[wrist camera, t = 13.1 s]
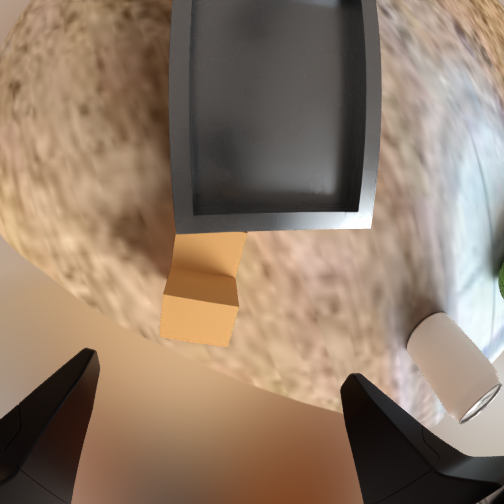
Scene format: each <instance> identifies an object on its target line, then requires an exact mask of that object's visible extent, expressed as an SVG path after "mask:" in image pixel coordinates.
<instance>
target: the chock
mask: <svg viewBox="0 0 504 504" xmlns="http://www.w3.org/2000/svg"><path fill="white" fill-rule="evenodd" d="M246 236H247V231H245V232H220V233H198V234H178V235H176V236H175V242H174V249H173V256H172V263H171V268H170V272H169V275H168V279H167V282H166V286H165V290H164V293H163V301H162V312H161V324H160V337H165V338H170V339H176V340H182V341H188V342H195V343H202V344H209V345H216V346H224V347H228V344H229V341H230V337H231V334H232V330H233V326H234V323H235V319H236V316H237V312H238V309H239V302H238V295H237V287H236V279H235V278H236V274H237V270H238V266H239V263H240V259H241V255H242V251H243V247H244V243H245V240H246Z"/></svg>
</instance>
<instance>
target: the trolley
mask: <svg viewBox="0 0 504 504" xmlns="http://www.w3.org/2000/svg"><path fill="white" fill-rule="evenodd" d="M381 95H382V88H381V53H380V37H379V25H378V16H377V7H376V0H173V3H172V15H171V30H170V51H169V139H170V161H171V178H172V193H173V205H174V217H175V227H176V235H178V234H198V233H220V232H245V231H273V230H306V229H352V228H371V222H372V215H373V208H374V200H375V192H376V183H377V173H378V162H379V149H380V132H381Z"/></svg>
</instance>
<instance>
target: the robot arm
mask: <svg viewBox="0 0 504 504" xmlns="http://www.w3.org/2000/svg"><path fill="white" fill-rule="evenodd" d="M99 372H100V364H99V360H98V355H97V352H96V350H93V349H89V348H84V349H83V350H81V351H80V352H79V353H78V354H77V355H75V356H74V357H73V358H72V359H70V360H69V361H68V362H67V363H66V364H65V365H63V366H62V367H61V368H60V369H58V370H57V371H56V372H55V373H54V374H53V375H51V376H50V377H49V378H48V379H47V380H45V381H44V382H43V383H42V384H41V385H40V386H39V387H37V388H36V389H35V390H34V391H33V392H32V393H30V394H29V395H28V396H27V397H26V398H25V399H23V400H22V401H21V402H20V403H19V405H17V406H15V407H14V408H13V409H12V410H11V411H10V412H8V414H6V415H5V416H4V417H3V418H1V419H0V504H71V500H72V495H73V488H74V483H75V479H76V474H77V469H78V464H79V460H80V455H81V451H82V447H83V443H84V439H85V435H86V432H87V428H88V424H89V421H90V417H91V414H92V410H93V404H94V399H95V393H96V388H97V383H98V378H99ZM340 393H341V400H342V407H343V413H344V420H345V426H346V430H347V434H348V438H349V442H350V446H351V450H352V454H353V458H354V462H355V466H356V471H357V475H358V480H359V484H360V488H361V493H362V498H363V502H364V504H504V456H493V457H472V456H467V455H465V454H463V453H461V452H459V451H458V450H457V449H455V448H453V447H452V446H450V445H449V444H447V443H445V442H444V441H443V440H441V439H440V438H438V437H437V436H436V435H434V434H433V433H431V432H430V431H429V430H428V429H427V428H425V427H424V426H423V425H421V424H420V423H419V422H418V421H417V420H416V419H414V418H413V417H412V416H411V415H409V414H408V413H407V412H406V411H405V410H403V409H402V408H401V407H400V406H399V405H397V404H396V403H395V402H394V401H393V400H391V399H390V398H389V397H388V396H387V395H385V394H384V393H383V392H382V391H381V390H379V389H378V388H377V387H376V386H375V385H374V384H372V383H371V382H370V381H369V380H368V379H366V378H365V377H364V376H363V375H362V374H360V373H352V374H350V375H349V376H348V377H347V379H346V380H345V382H344V383H343V385H342V386H341V389H340Z"/></svg>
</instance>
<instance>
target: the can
mask: <svg viewBox="0 0 504 504" xmlns="http://www.w3.org/2000/svg"><path fill="white" fill-rule="evenodd" d="M407 351H408V353H409V355H410V356H411V358H412V359H413V361H414V362H415V364H416V365H417V367H418V368H419V370H420V371H421V373H422V374H423V376H424V377H425V379H426V380H427V382H428V383H429V385H430V386H431V388H432V389H433V391H434V392H435V394H436V395H437V397H438V399H439V400H440V402H441V403H442V405H443V406H444V408H445V409H446V411H447V413H448V414H449V415H450V416H451V417H452V418H455V419H456V420H458V421H459V424H464V423H466V422H468V421H469V420H471V419H472V418H474V417H475V416H476V415H477V414H479V413H480V412H481V411H482V410H483V409H484V408H485V407H486V406H487V405H488V404H489V403H490V402H491V401H492V400H493V399H494V398H495V397H496V395H497V394H498V393H499V391H500V390H501V388H502V384H501V383H500V382H499V377H498V373H497V371H496V369H495V368H494V367H493V365H492V364H491V363H490V362H489V360H488V359H487V358H486V357H485V355H484V354H483V353H482V352H481V351H480V350H479V348H478V347H477V346H476V345H475V344H474V343H473V342H472V340H471V339H470V338H469V337H468V336H467V335H466V334H465V333H464V332H463V330H462V329H461V328H460V327H459V326H458V325H457V324H456V323H455V322H454V321H453V320H452V319H451V318H450V317H449V316H448V315H447V314H446V313H434V314H432V315H430V316H428V317H427V318H425V319H424V320H423V321H421V322H420V323H419V324H418V325H417V326H416V328H415V329H414V330H413V332H412V333H411V335H410V337H409V340H408V345H407Z"/></svg>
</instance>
